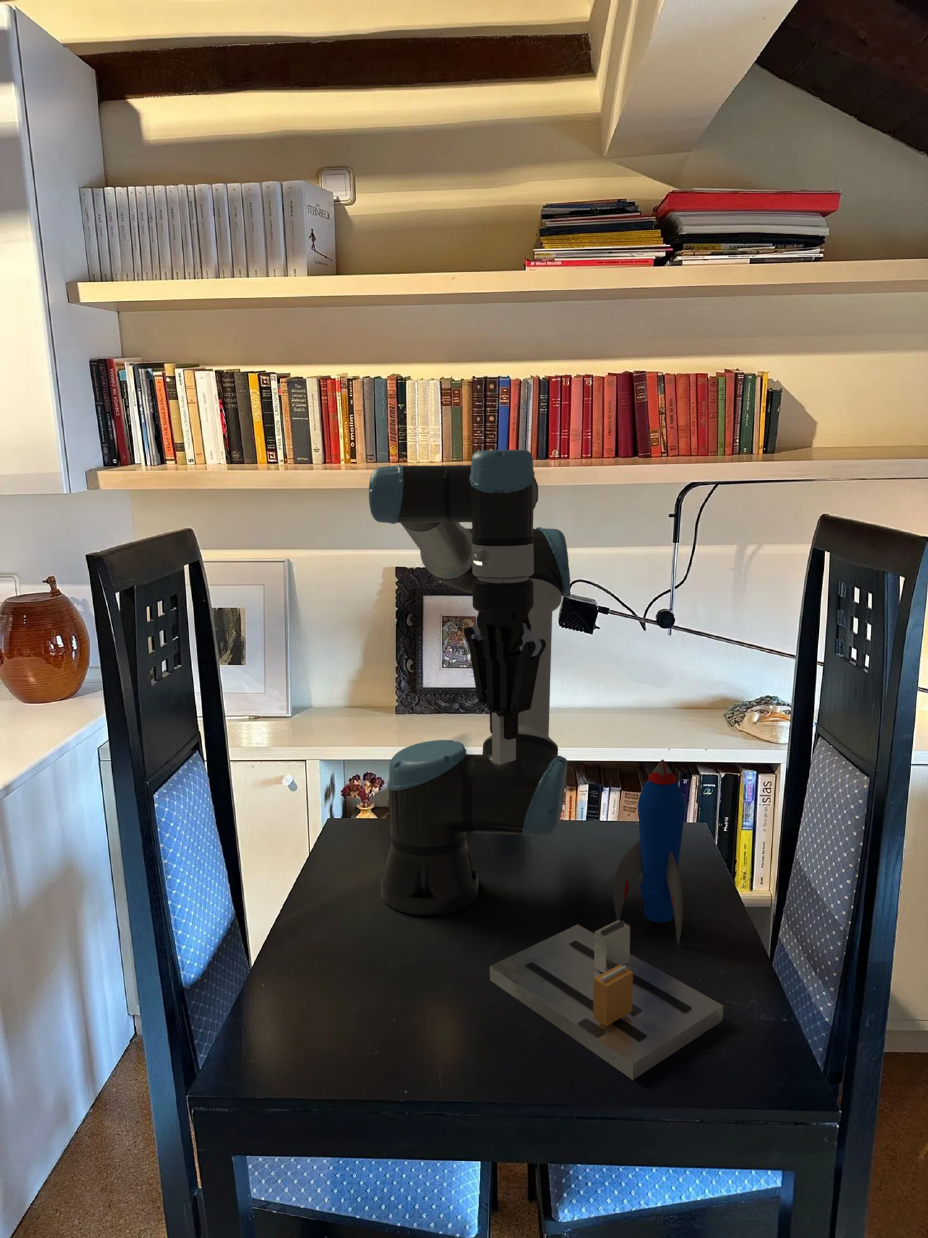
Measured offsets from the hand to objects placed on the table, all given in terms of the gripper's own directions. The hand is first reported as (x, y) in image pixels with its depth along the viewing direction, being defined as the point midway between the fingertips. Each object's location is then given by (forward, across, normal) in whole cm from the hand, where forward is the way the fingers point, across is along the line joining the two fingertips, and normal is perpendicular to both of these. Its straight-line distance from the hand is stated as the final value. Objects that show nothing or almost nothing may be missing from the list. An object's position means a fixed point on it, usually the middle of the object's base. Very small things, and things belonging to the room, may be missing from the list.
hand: (504, 760), depth 113 cm
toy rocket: (+29, +6, +21) cm, 36 cm away
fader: (+26, +19, -1) cm, 32 cm away
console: (+28, +14, +3) cm, 32 cm away
